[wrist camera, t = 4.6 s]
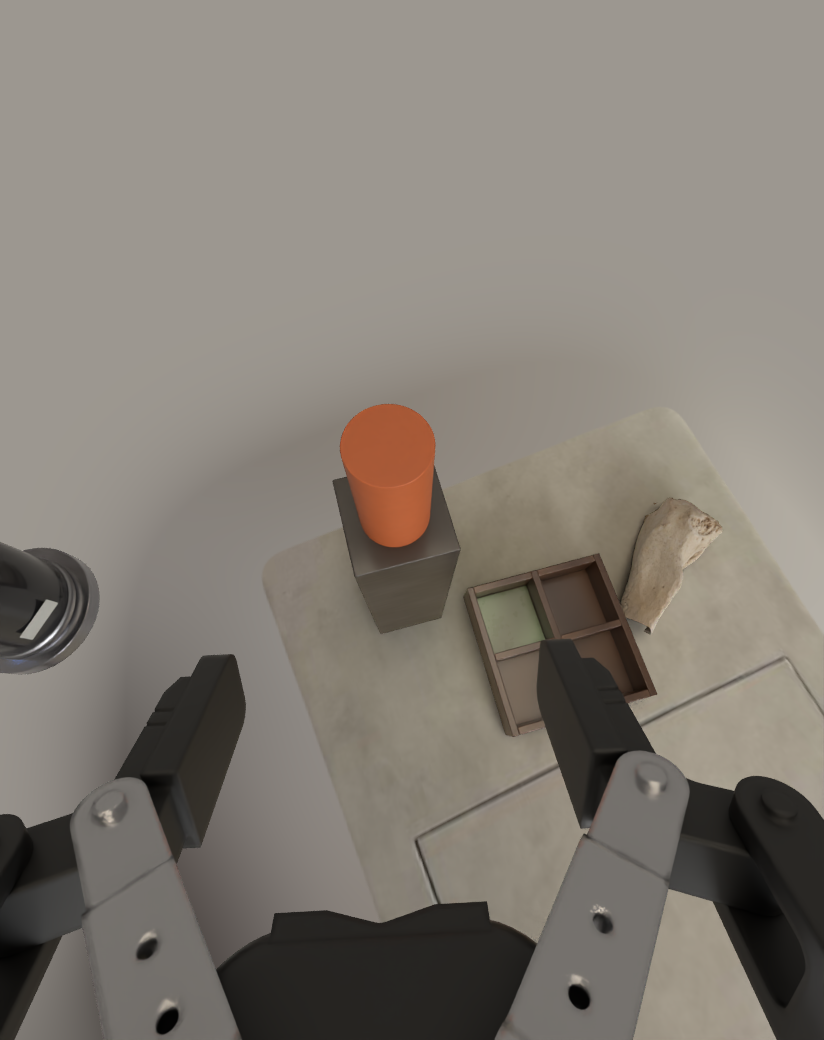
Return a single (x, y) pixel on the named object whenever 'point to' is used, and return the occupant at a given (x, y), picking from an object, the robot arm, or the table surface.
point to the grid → (551, 634)
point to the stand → (402, 564)
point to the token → (390, 472)
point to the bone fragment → (665, 558)
